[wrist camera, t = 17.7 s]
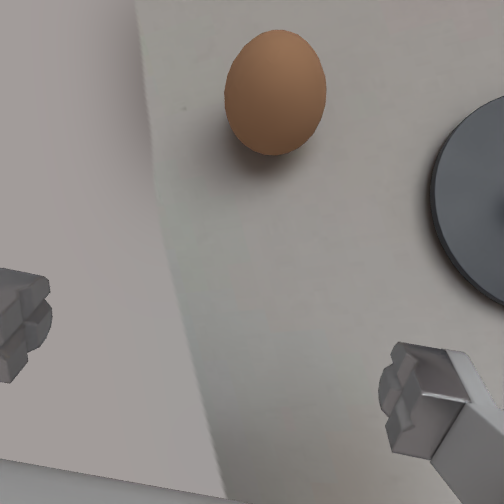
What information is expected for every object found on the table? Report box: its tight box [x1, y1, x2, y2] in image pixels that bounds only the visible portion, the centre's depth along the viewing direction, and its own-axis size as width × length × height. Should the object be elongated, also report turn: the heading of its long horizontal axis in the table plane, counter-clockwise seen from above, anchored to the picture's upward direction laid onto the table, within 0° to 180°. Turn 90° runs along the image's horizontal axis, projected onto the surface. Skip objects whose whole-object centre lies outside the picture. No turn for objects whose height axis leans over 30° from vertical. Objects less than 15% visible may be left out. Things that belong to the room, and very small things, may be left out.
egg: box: [224, 30, 326, 156], centre depth 21 cm, size 5×5×8 cm
